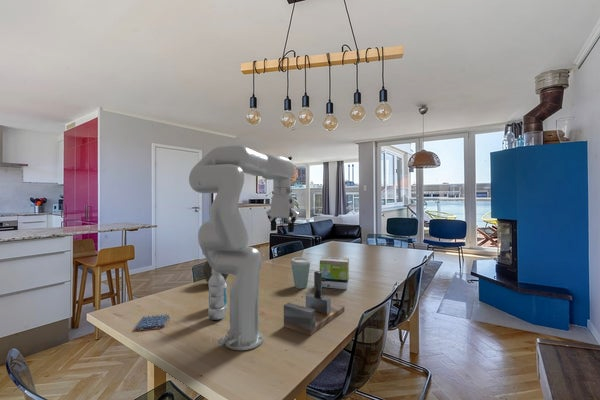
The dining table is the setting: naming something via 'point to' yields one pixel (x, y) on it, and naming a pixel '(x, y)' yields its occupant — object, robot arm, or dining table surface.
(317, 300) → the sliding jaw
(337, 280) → the tea box
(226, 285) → the pill bottle
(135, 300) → the dining table surface
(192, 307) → the dining table surface
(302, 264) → the disposable coffee cup
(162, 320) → the woven mat
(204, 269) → the cantaloupe
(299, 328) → the press base
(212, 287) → the plastic bottle
